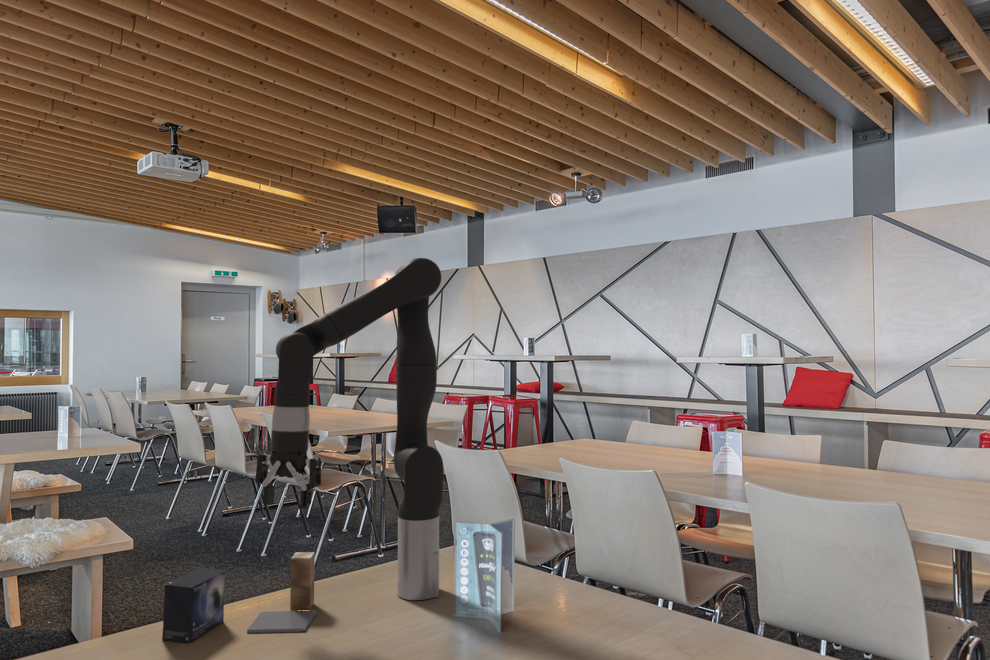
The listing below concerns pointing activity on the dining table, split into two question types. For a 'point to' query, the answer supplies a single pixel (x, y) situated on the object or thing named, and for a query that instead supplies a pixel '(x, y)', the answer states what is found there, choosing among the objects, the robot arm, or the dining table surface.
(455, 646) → the dining table surface
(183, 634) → the small box
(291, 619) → the slate pad
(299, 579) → the walnut block
